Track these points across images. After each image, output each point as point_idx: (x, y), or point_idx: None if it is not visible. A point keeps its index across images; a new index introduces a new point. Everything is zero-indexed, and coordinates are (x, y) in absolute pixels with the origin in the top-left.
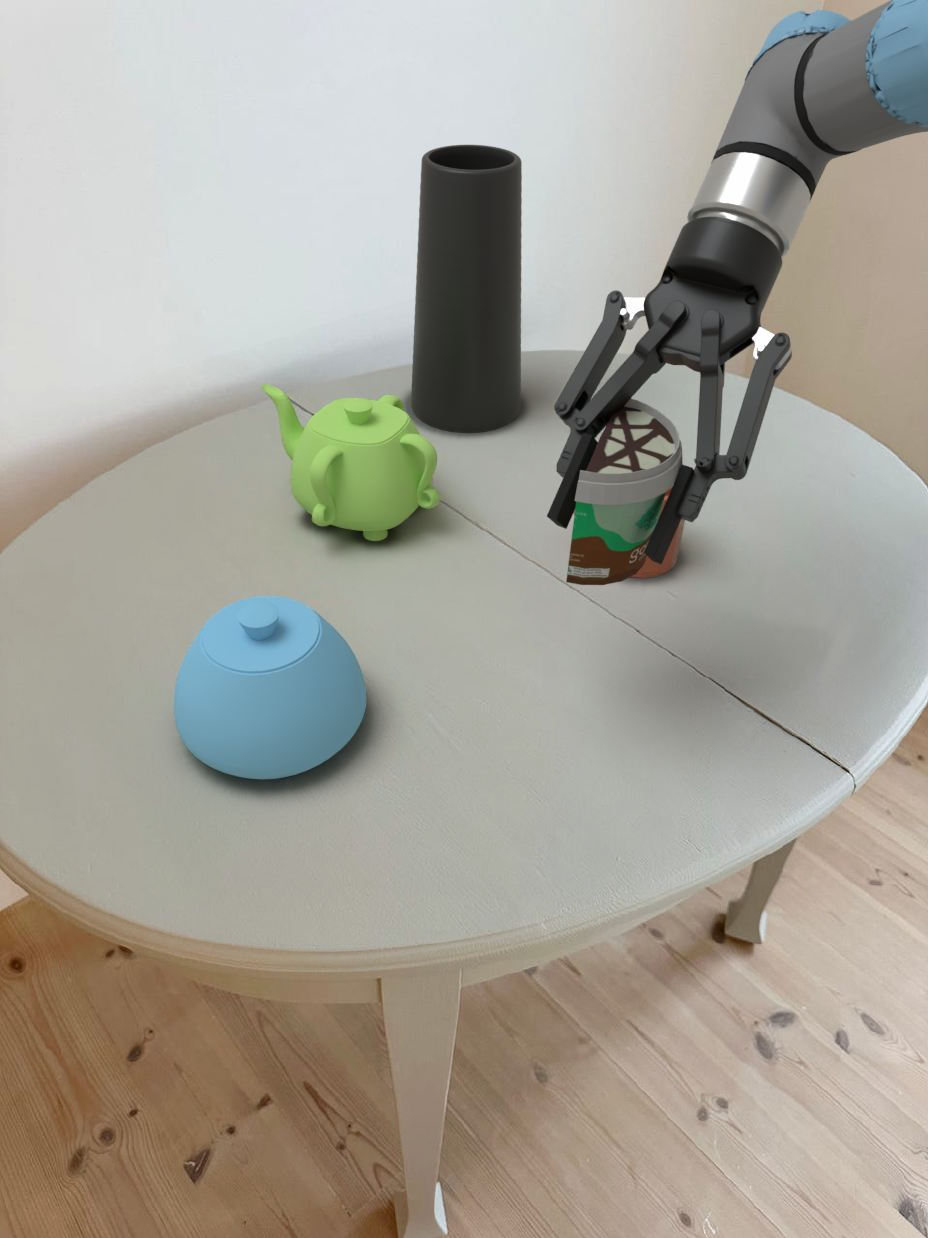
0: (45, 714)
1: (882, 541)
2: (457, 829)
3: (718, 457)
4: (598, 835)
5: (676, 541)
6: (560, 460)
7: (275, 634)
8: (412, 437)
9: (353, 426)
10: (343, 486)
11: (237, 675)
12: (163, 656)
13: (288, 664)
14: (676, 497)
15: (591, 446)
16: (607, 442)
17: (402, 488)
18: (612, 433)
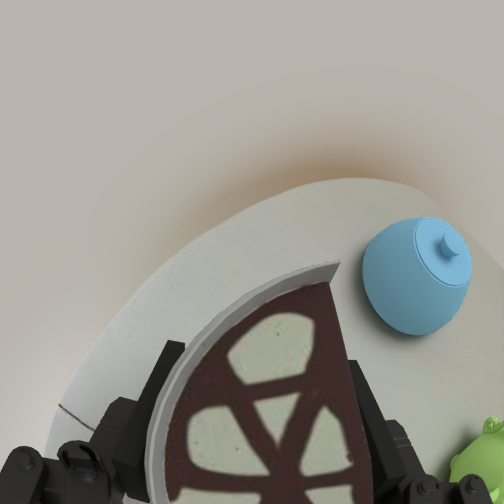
0: (466, 241)
1: None
2: (272, 265)
3: (64, 489)
4: (191, 295)
5: None
6: (402, 433)
7: (439, 250)
8: (494, 495)
9: None
10: (499, 438)
11: (426, 217)
12: (468, 295)
13: (415, 232)
14: (140, 407)
15: (373, 473)
16: (346, 454)
17: None
18: (350, 500)
